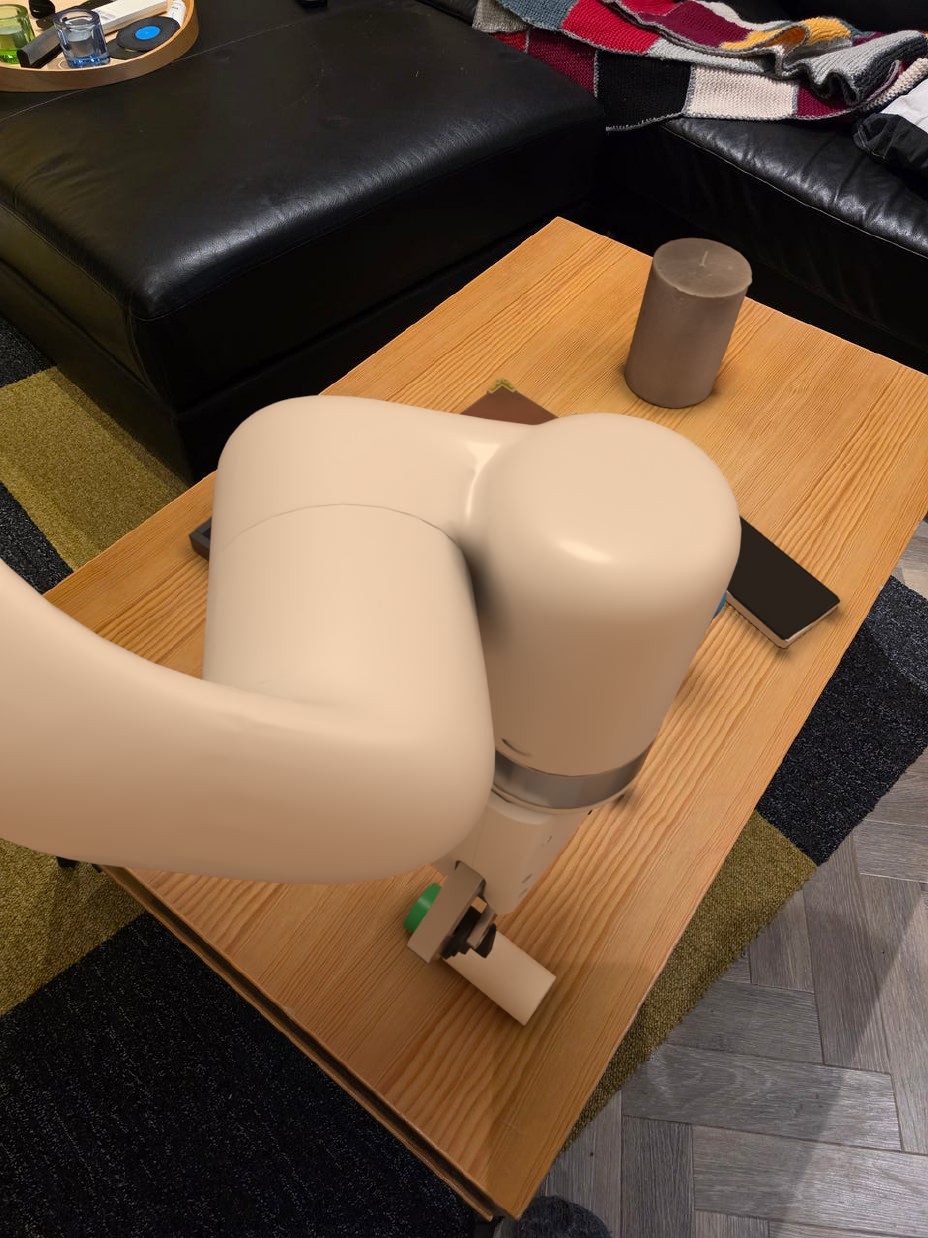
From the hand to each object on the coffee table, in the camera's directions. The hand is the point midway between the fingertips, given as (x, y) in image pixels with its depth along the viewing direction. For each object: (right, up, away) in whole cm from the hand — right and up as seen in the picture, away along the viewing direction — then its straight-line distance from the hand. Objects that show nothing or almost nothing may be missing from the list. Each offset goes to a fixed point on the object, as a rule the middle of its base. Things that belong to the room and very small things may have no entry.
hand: (518, 863), depth 48 cm
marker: (-2, -10, +12) cm, 16 cm away
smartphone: (+23, +17, +33) cm, 43 cm away
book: (+5, +25, +37) cm, 45 cm away
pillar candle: (+19, +39, +48) cm, 65 cm away
